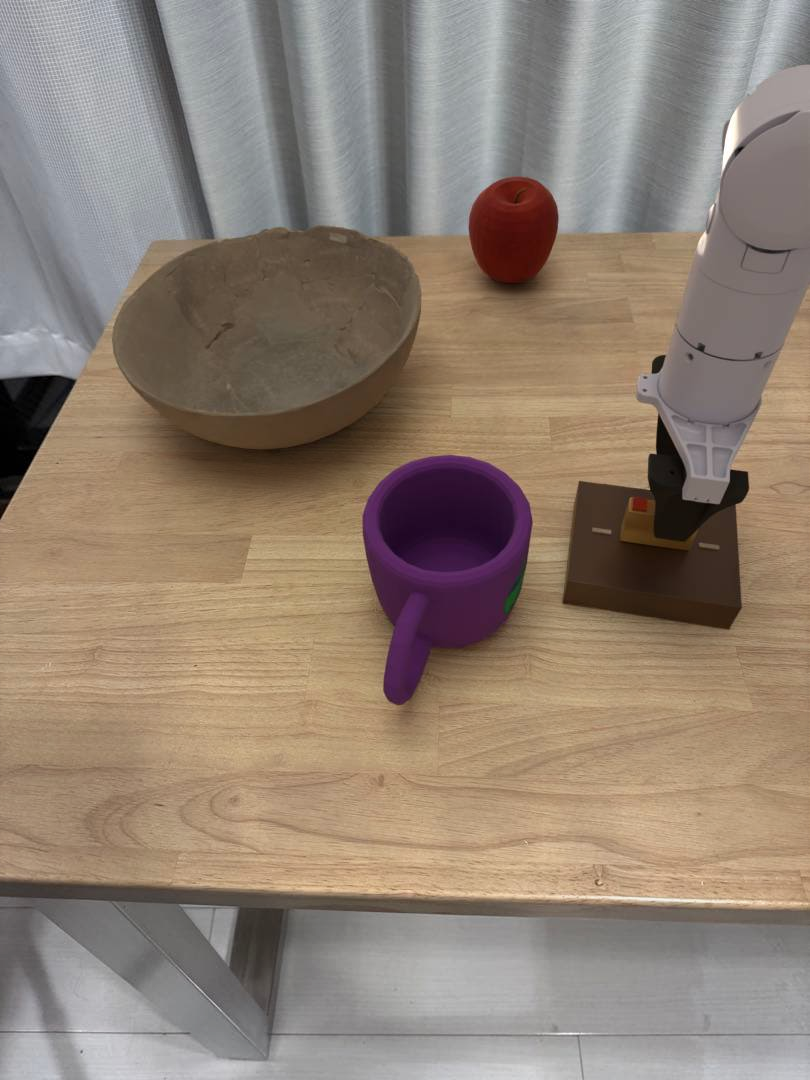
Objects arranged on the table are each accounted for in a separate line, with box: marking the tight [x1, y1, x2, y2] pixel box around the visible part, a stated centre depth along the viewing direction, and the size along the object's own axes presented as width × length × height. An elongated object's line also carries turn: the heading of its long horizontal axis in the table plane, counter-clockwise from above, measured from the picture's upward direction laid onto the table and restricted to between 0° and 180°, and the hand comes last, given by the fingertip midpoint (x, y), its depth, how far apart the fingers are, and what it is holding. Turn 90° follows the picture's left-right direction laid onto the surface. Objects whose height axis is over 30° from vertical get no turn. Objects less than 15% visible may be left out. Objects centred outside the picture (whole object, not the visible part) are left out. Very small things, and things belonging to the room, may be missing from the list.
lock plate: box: [562, 480, 743, 630], centre depth 55 cm, size 12×10×3 cm
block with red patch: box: [620, 497, 698, 551], centre depth 53 cm, size 5×1×4 cm, turn 77°
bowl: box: [111, 224, 422, 450], centre depth 68 cm, size 28×28×10 cm
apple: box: [467, 176, 560, 284], centre depth 78 cm, size 10×10×10 cm
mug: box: [362, 454, 533, 706], centre depth 50 cm, size 17×11×10 cm, turn 160°
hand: (670, 493), depth 50 cm, fingers open, 7 cm apart
